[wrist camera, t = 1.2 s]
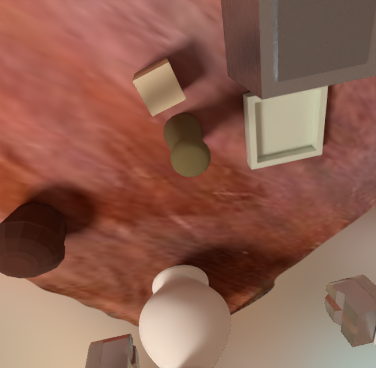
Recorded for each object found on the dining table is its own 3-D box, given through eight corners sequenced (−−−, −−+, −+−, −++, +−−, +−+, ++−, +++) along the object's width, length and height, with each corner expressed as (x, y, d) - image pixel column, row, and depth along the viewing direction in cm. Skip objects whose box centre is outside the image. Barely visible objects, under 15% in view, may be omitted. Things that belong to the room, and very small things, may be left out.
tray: (242, 93, 42) (247, 97, 40) (320, 77, 42) (328, 80, 40) (247, 163, 48) (251, 169, 46) (314, 149, 48) (321, 154, 46)
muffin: (68, 195, 47) (50, 234, 38) (79, 244, 52) (66, 287, 44) (-8, 198, 45) (-43, 240, 37) (12, 248, 51) (-15, 294, 42)
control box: (220, -7, 35) (259, -22, 22) (312, -26, 35) (402, -51, 23) (228, 77, 40) (263, 103, 28) (308, 61, 40) (378, 79, 28)
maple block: (134, 74, 38) (132, 81, 34) (166, 57, 38) (168, 61, 34) (151, 106, 41) (152, 116, 37) (182, 90, 40) (186, 99, 36)
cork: (158, 144, 44) (161, 178, 35) (170, 108, 41) (176, 134, 32) (194, 154, 46) (206, 188, 36) (207, 119, 43) (223, 147, 34)
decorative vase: (147, 315, 66) (147, 457, 44) (133, 263, 57) (124, 410, 35) (220, 303, 67) (254, 435, 46) (218, 249, 58) (259, 385, 36)
